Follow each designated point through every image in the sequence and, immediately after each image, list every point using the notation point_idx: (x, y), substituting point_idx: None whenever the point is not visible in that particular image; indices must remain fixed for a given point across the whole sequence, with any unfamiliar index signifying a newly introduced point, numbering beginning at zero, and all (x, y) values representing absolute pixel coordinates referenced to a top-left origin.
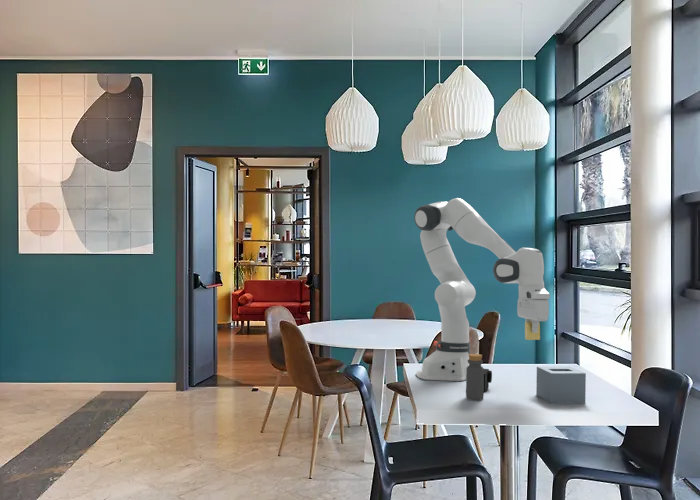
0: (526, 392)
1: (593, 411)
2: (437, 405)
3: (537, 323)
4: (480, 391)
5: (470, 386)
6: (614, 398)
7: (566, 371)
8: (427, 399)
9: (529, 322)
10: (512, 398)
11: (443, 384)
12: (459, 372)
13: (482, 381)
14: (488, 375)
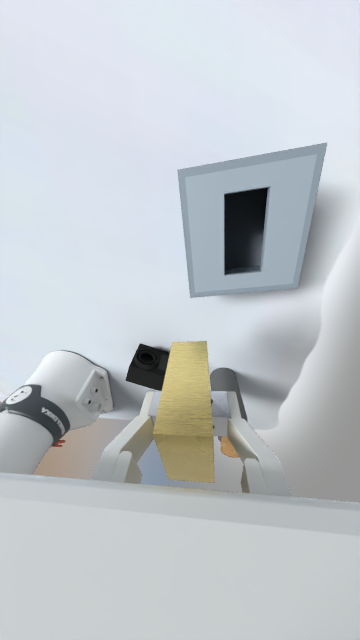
0: (171, 290)
1: (357, 186)
2: (256, 416)
3: (275, 462)
4: (237, 383)
5: None
6: (224, 5)
7: (274, 222)
8: None
9: (184, 469)
10: (221, 327)
11: (135, 393)
12: (90, 381)
13: (238, 394)
14: (155, 365)
